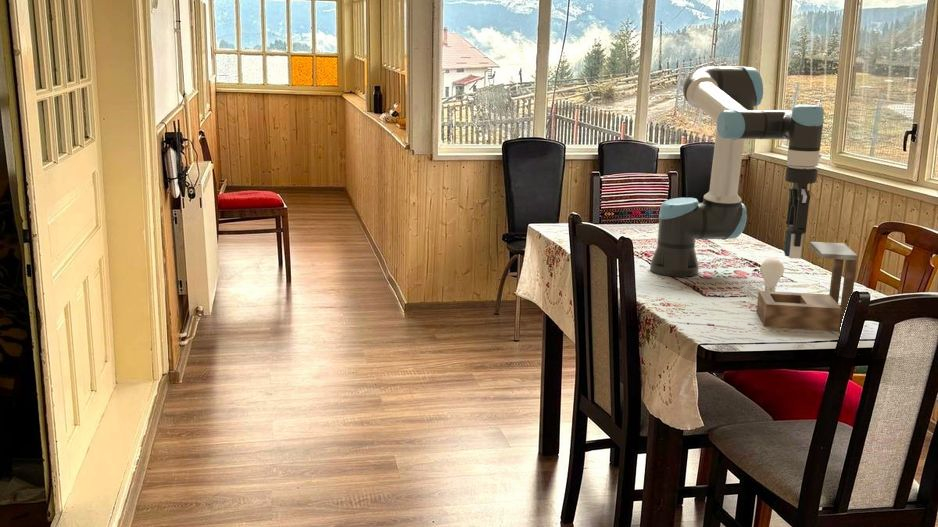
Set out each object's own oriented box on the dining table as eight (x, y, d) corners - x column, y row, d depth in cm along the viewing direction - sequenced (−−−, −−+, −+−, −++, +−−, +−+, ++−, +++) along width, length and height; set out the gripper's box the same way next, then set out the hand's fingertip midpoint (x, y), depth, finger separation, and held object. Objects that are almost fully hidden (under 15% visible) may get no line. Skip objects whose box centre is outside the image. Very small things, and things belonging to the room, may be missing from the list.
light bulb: (762, 290, 259) (766, 254, 256) (784, 294, 255) (788, 258, 252) (754, 294, 254) (757, 258, 251) (776, 299, 250) (780, 262, 247)
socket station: (764, 326, 225) (772, 251, 220) (756, 311, 238) (763, 239, 233) (847, 332, 222) (857, 255, 217) (834, 315, 235) (843, 243, 230)
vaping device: (794, 259, 223) (799, 213, 221) (782, 255, 228) (786, 209, 226) (803, 258, 224) (807, 212, 221) (790, 254, 229) (795, 209, 226)
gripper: (825, 171, 211) (815, 264, 217) (810, 162, 228) (800, 248, 234) (793, 170, 212) (784, 263, 218) (780, 161, 229) (771, 247, 235)
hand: (792, 255), depth 226 cm, fingers closed on vaping device, 5 cm apart
